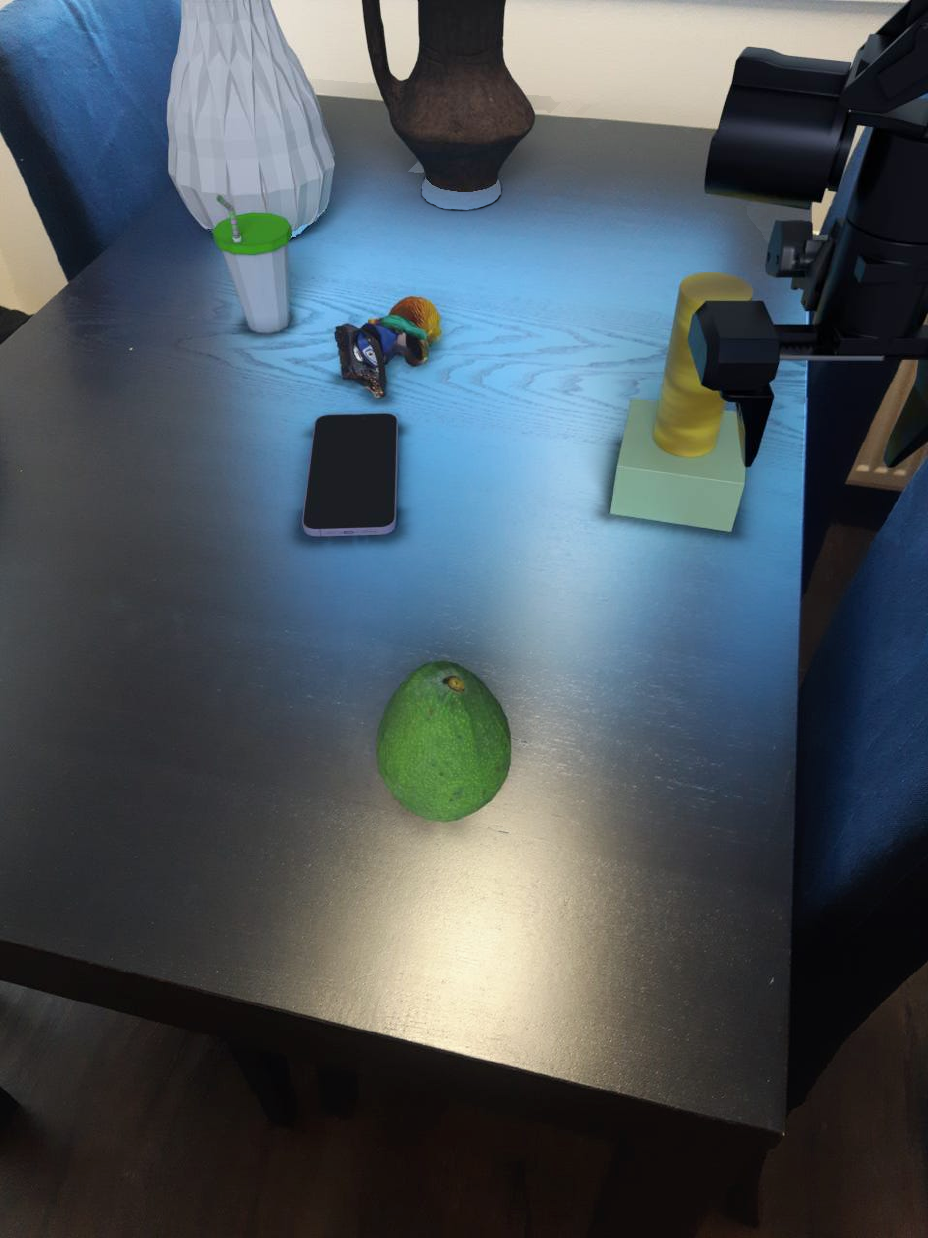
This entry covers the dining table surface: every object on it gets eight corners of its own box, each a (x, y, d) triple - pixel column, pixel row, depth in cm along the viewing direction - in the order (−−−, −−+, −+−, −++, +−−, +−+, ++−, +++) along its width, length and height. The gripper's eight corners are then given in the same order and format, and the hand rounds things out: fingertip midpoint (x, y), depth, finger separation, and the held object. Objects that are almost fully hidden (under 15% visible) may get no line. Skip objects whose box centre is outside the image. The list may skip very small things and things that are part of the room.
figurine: (422, 334, 94) (419, 278, 90) (465, 364, 90) (464, 307, 86) (331, 371, 90) (323, 314, 85) (373, 404, 86) (366, 346, 81)
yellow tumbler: (729, 444, 72) (769, 293, 63) (680, 464, 70) (713, 312, 61) (687, 413, 75) (719, 265, 66) (639, 432, 74) (664, 282, 64)
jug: (530, 168, 126) (543, -101, 104) (532, 223, 113) (546, -70, 91) (383, 167, 127) (365, -100, 105) (368, 221, 114) (344, -69, 92)
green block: (735, 460, 79) (748, 412, 75) (731, 532, 72) (745, 484, 69) (623, 444, 81) (631, 397, 77) (609, 513, 74) (616, 465, 70)
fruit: (426, 874, 52) (417, 758, 43) (359, 779, 56) (339, 656, 48) (533, 807, 55) (544, 686, 46) (461, 722, 59) (460, 597, 51)
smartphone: (299, 530, 71) (314, 414, 82) (301, 541, 72) (316, 425, 83) (396, 527, 72) (398, 412, 82) (397, 538, 72) (399, 423, 83)
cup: (283, 298, 100) (260, 158, 89) (318, 326, 96) (298, 182, 85) (220, 319, 97) (188, 176, 86) (253, 349, 93) (223, 202, 82)
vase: (210, 193, 120) (152, -85, 98) (355, 198, 119) (329, -83, 97) (162, 260, 107) (82, -46, 85) (325, 266, 105) (287, -43, 83)
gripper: (1018, 162, 51) (919, 395, 63) (697, 162, 52) (656, 394, 63) (1111, 247, 44) (979, 494, 55) (734, 246, 44) (680, 492, 55)
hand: (816, 463), depth 57 cm, fingers open, 9 cm apart
